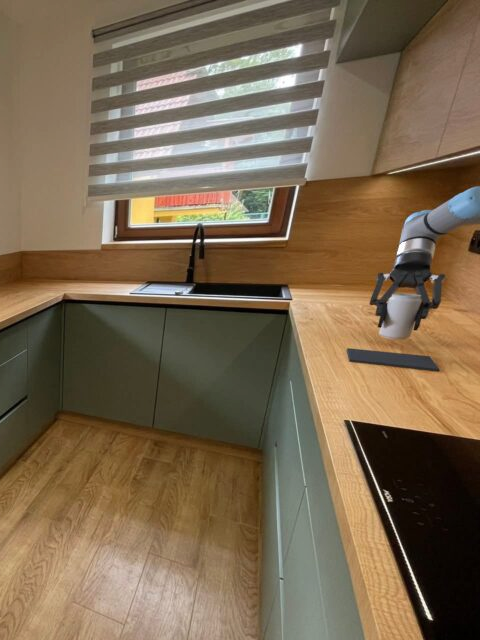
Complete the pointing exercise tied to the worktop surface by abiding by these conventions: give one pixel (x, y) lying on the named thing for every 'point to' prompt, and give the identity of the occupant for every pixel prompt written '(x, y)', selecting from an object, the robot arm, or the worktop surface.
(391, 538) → the worktop surface
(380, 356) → the mat
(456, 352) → the worktop surface
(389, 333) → the beverage can
